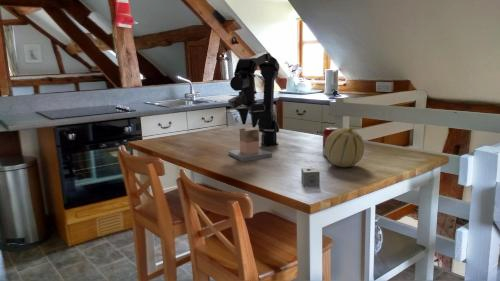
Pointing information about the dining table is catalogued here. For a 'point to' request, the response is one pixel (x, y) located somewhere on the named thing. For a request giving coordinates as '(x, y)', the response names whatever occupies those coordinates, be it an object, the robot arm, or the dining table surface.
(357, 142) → the cantaloupe
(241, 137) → the walnut brick
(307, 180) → the grey cube
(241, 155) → the base board
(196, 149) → the dining table surface
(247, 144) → the terracotta brick
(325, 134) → the soda can
